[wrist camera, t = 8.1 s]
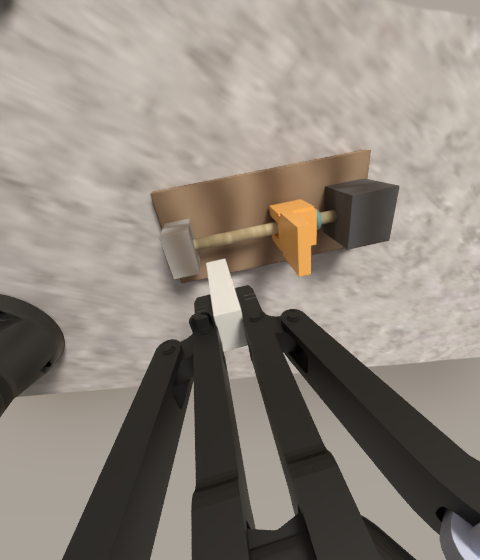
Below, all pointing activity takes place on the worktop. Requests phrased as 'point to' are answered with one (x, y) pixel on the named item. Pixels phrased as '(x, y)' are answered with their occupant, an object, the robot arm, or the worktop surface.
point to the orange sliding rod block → (295, 233)
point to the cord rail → (256, 215)
